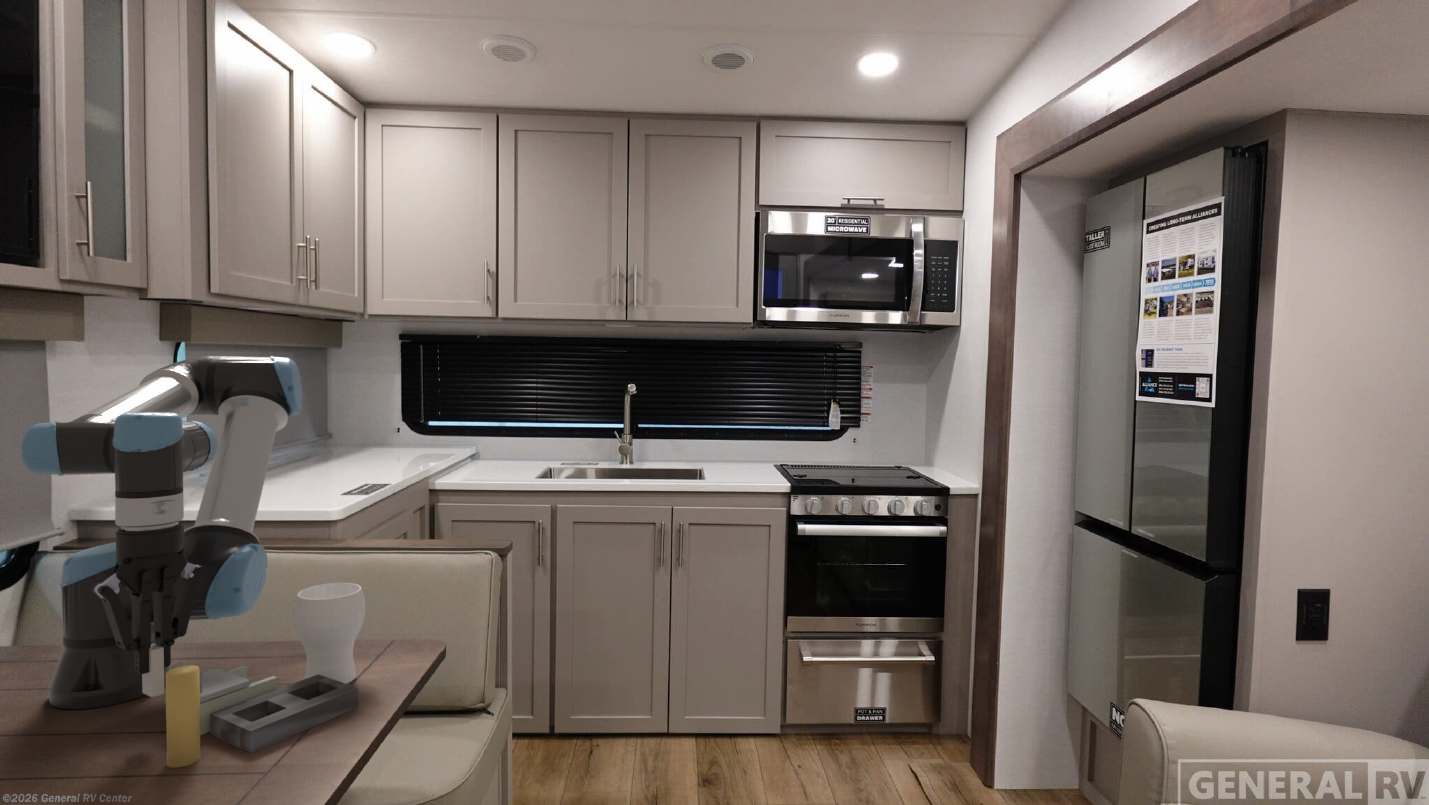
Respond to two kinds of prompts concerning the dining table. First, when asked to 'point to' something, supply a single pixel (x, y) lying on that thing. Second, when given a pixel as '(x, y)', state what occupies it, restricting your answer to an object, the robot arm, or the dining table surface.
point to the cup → (329, 628)
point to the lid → (217, 682)
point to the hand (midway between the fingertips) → (153, 693)
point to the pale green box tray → (234, 696)
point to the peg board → (283, 712)
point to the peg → (183, 716)
